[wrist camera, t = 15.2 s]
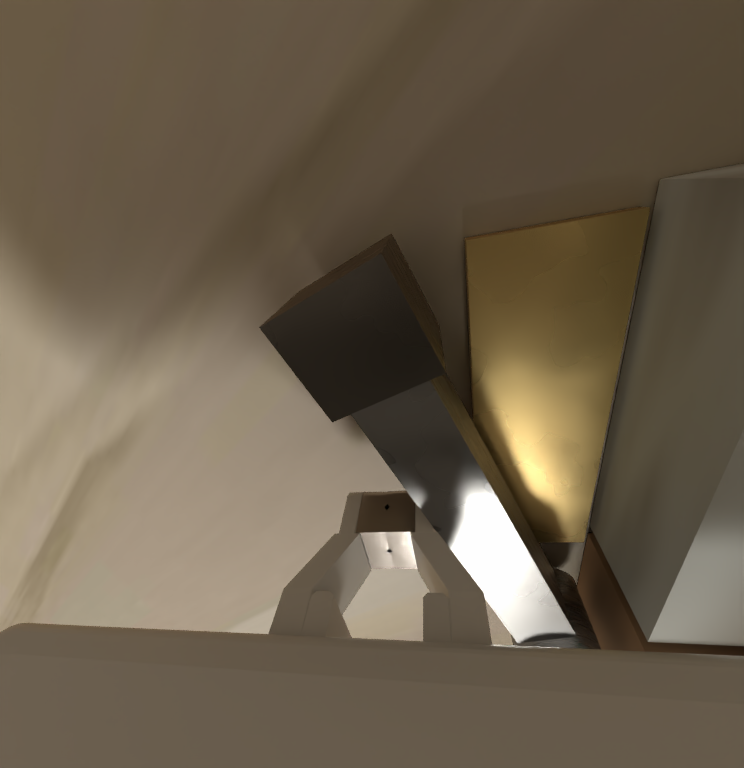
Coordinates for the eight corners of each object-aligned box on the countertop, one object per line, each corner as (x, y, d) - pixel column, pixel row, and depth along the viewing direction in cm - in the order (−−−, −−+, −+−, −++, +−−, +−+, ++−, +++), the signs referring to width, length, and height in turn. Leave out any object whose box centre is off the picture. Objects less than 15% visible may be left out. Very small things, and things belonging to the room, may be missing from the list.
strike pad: (640, 206, 8) (650, 207, 8) (579, 533, 14) (583, 542, 13) (464, 237, 9) (466, 240, 8) (478, 534, 14) (479, 542, 14)
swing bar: (583, 598, 15) (618, 686, 12) (514, 609, 16) (533, 692, 13) (395, 229, 8) (384, 251, 5) (298, 290, 9) (251, 333, 6)
